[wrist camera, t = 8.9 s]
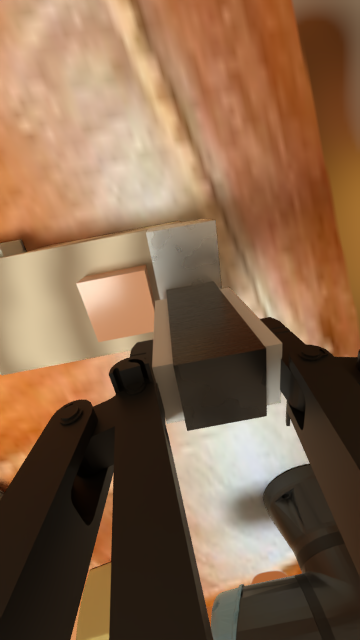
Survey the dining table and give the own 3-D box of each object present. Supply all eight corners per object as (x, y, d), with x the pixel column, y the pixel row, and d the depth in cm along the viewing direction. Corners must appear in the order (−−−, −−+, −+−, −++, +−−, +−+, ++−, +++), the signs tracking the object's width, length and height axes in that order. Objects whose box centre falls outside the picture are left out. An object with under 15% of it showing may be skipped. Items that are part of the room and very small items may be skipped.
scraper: (203, 218, 17) (285, 228, 6) (216, 337, 21) (277, 471, 10) (148, 228, 17) (129, 257, 6) (173, 345, 21) (187, 488, 10)
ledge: (178, 220, 22) (183, 223, 17) (193, 313, 27) (201, 336, 22) (-15, 257, 22) (-65, 270, 17) (31, 344, 27) (1, 375, 22)
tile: (146, 264, 18) (144, 270, 17) (159, 320, 21) (159, 330, 19) (84, 276, 18) (76, 283, 17) (103, 331, 21) (98, 342, 19)
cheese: (153, 570, 53) (152, 644, 44) (113, 584, 54) (104, 659, 45) (129, 552, 49) (122, 630, 40) (86, 568, 50) (69, 647, 41)
